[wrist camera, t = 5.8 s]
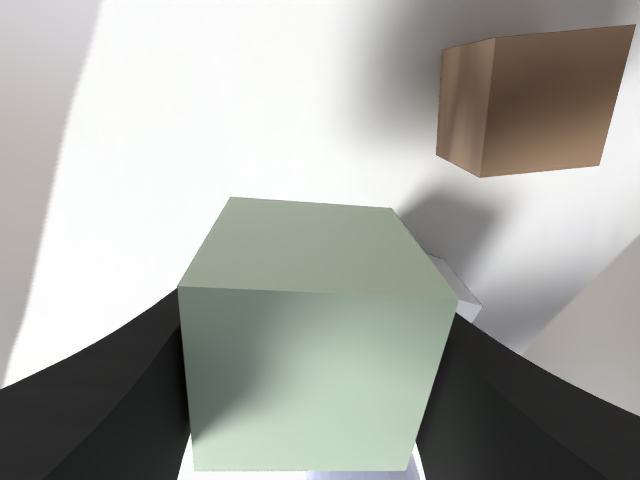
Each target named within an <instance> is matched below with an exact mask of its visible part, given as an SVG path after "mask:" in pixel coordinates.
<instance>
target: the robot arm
mask: <svg viewBox="0 0 640 480" xmlns="http://www.w3.org/2000/svg"><path fill="white" fill-rule="evenodd" d="M190 433H191V427H190V417H189V406H188V395H187V385H186V374H185V363H184V353H183V342H182V331H181V321H180V310H179V300H178V289H177V288H176V289H175V290H174V291H172V292H171V293H170V294H168V295H167V296H165V297H164V298H163V299H161V300H160V301H159V302H157V303H156V304H155V305H153V306H152V307H151V308H149V309H148V310H146V311H145V312H143V313H142V314H140V315H139V316H137V317H136V318H134V319H133V320H131V321H130V322H128V323H127V324H125V325H124V326H122V327H121V328H119V329H117V330H116V331H114V332H113V333H111V334H109V335H108V336H106V337H104V338H102V339H101V340H99V341H97V342H96V343H94V344H92V345H90V346H88V347H86V348H85V349H83V350H81V351H79V352H77V353H76V354H74V355H72V356H70V357H68V358H66V359H64V360H62V361H60V362H58V363H56V364H54V365H52V366H50V367H47V368H45V369H43V370H41V371H39V372H37V373H35V374H33V375H31V376H29V377H27V378H25V379H22V380H20V381H18V382H16V383H14V384H12V385H10V386H7V387H5V388H3V389H0V480H177V478H178V474H179V470H180V466H181V462H182V458H183V455H184V452H185V448H186V445H187V442H188V439H189V436H190ZM415 441H416V444H417V447H418V451H419V454H420V457H421V461H422V466H423V470H424V474H425V478H426V480H640V416H637V415H635V414H633V413H631V412H628V411H626V410H624V409H622V408H620V407H617V406H615V405H613V404H611V403H609V402H607V401H604V400H602V399H600V398H598V397H596V396H594V395H592V394H590V393H588V392H586V391H584V390H582V389H580V388H578V387H576V386H574V385H572V384H570V383H568V382H566V381H564V380H562V379H560V378H559V377H557V376H555V375H553V374H551V373H549V372H547V371H546V370H544V369H542V368H540V367H539V366H537V365H535V364H533V363H532V362H530V361H528V360H527V359H525V358H523V357H522V356H520V355H518V354H517V353H515V352H513V351H512V350H510V349H509V348H507V347H505V346H504V345H502V344H501V343H499V342H498V341H496V340H495V339H493V338H492V337H490V336H489V335H487V334H486V333H484V332H483V331H481V330H480V329H479V328H477V327H476V326H474V325H473V324H472V323H470V322H469V321H468V320H466V319H465V318H463V317H462V316H461V315H459V314H458V313H457V312H455V315H454V319H453V322H452V325H451V328H450V331H449V335H448V338H447V341H446V344H445V347H444V351H443V354H442V357H441V360H440V363H439V367H438V370H437V373H436V376H435V379H434V383H433V386H432V389H431V392H430V395H429V399H428V402H427V405H426V408H425V411H424V415H423V418H422V421H421V424H420V427H419V431H418V434H417V437H416V440H415ZM307 480H420V477H419V474H418V471H417V467H416V464H415V461H414V457H413V454H412V453H411V456H410V459H409V463H408V466H407V469H406V471H307Z"/></svg>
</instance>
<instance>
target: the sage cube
mask: <svg viewBox="0 0 640 480" xmlns="http://www.w3.org/2000/svg"><path fill="white" fill-rule="evenodd" d="M177 289H178V300H179V310H180V321H181V331H182V342H183V353H184V363H185V374H186V385H187V395H188V406H189V417H190V427H191V438H192V449H193V459H194V470H195V471H406V469H407V466H408V463H409V459H410V456H411V453H412V450H413V447H414V443H415V440H416V437H417V434H418V431H419V427H420V424H421V421H422V418H423V415H424V411H425V408H426V405H427V402H428V399H429V395H430V392H431V389H432V386H433V383H434V379H435V376H436V373H437V370H438V367H439V363H440V360H441V357H442V354H443V351H444V347H445V344H446V341H447V338H448V335H449V331H450V328H451V325H452V322H453V319H454V315H455V312H456V309H457V306H458V303H459V298H458V296H457V295H456V294H455V292H454V291H453V290H452V288H451V287H450V286H449V284H448V283H447V282H446V280H445V279H444V278H443V276H442V275H441V274H440V272H439V271H438V270H437V268H436V267H435V265H434V264H433V263H432V261H431V260H430V259H429V257H428V256H427V255H426V253H425V252H424V251H423V249H422V248H421V247H420V245H419V244H418V243H417V241H416V240H415V239H414V237H413V236H412V235H411V233H410V232H409V231H408V229H407V228H406V227H405V225H404V224H403V223H402V221H401V220H400V219H399V217H398V216H397V215H396V213H395V212H394V211H393V209H392V208H383V207H368V206H354V205H340V204H326V203H311V202H297V201H283V200H269V199H255V198H240V197H230V198H229V200H228V202H227V203H226V205H225V207H224V208H223V210H222V212H221V214H220V215H219V217H218V219H217V220H216V222H215V224H214V225H213V227H212V229H211V230H210V232H209V234H208V235H207V237H206V239H205V240H204V242H203V244H202V245H201V247H200V249H199V250H198V252H197V254H196V255H195V257H194V259H193V260H192V262H191V264H190V265H189V267H188V269H187V271H186V272H185V274H184V276H183V277H182V279H181V281H180V282H179V284H178V286H177Z"/></svg>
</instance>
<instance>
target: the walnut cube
mask: <svg viewBox="0 0 640 480" xmlns="http://www.w3.org/2000/svg"><path fill="white" fill-rule="evenodd" d="M635 27H636V24H635V25H625V26H614V27H603V28H592V29H582V30H571V31H560V32H550V33H539V34H528V35H518V36H507V37H496V38H492V39H487V40H483V41H479V42H474V43H470V44H466V45H461V46H457V47H452V48H448V49H444V50H442V61H441V78H440V95H439V112H438V129H437V146H436V155H437V156H439V157H441V158H443V159H445V160H447V161H449V162H451V163H453V164H455V165H456V166H458V167H460V168H462V169H464V170H466V171H468V172H470V173H472V174H474V175H476V176H477V177H479V178H482V177H492V176H502V175H512V174H522V173H532V172H542V171H552V170H562V169H572V168H582V167H592V166H599V164H600V160H601V157H602V153H603V149H604V145H605V141H606V137H607V134H608V130H609V126H610V122H611V118H612V115H613V111H614V107H615V103H616V99H617V95H618V92H619V88H620V84H621V80H622V76H623V72H624V69H625V65H626V61H627V57H628V53H629V50H630V46H631V42H632V38H633V34H634V30H635Z"/></svg>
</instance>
